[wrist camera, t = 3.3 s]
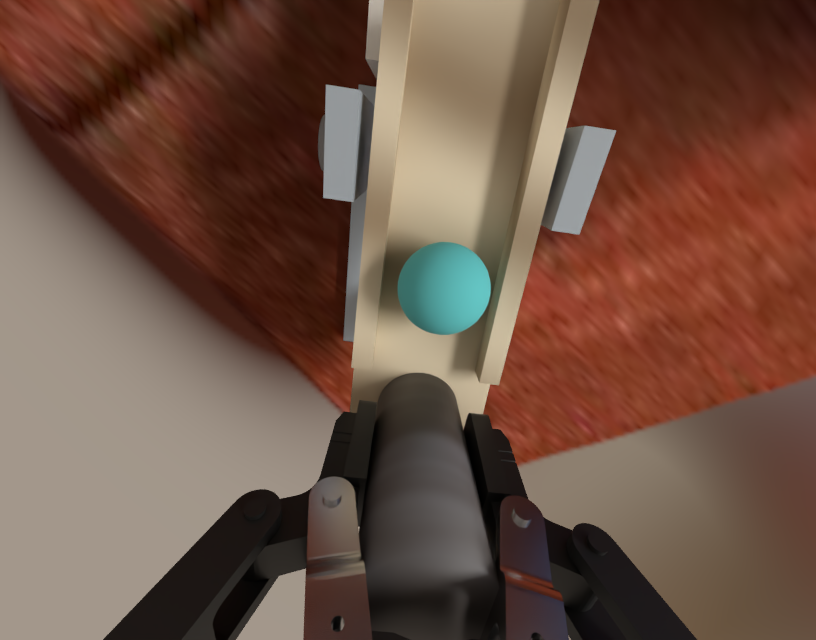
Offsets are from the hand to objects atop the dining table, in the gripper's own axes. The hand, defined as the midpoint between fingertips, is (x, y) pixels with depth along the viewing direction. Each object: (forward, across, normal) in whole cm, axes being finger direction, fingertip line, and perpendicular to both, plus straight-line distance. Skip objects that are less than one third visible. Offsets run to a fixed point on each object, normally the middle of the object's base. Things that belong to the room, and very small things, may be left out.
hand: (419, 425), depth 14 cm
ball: (+1, 0, -6) cm, 6 cm away
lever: (+4, 0, -6) cm, 7 cm away
